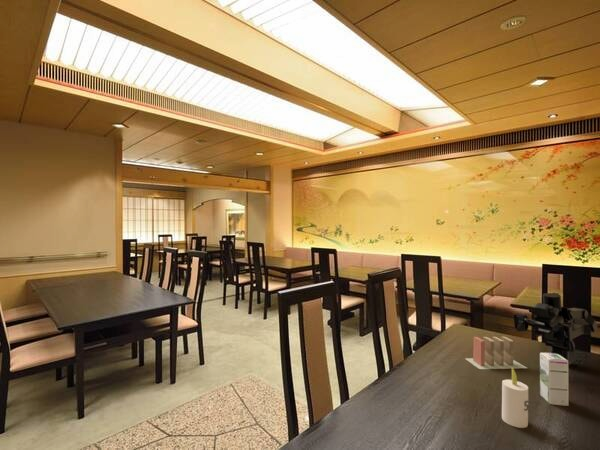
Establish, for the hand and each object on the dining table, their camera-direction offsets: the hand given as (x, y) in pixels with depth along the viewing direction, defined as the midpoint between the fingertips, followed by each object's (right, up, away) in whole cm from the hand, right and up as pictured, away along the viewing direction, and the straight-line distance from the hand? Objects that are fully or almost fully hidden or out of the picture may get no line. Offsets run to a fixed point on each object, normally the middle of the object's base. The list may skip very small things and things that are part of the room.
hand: (530, 333), depth 121 cm
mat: (-7, -16, +10) cm, 20 cm away
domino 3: (-6, -16, +10) cm, 20 cm away
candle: (-25, -16, -28) cm, 41 cm away
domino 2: (-10, -16, +10) cm, 21 cm away
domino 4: (-2, -16, +11) cm, 19 cm away
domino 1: (-14, -16, +10) cm, 23 cm away
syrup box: (-5, -16, -17) cm, 24 cm away
